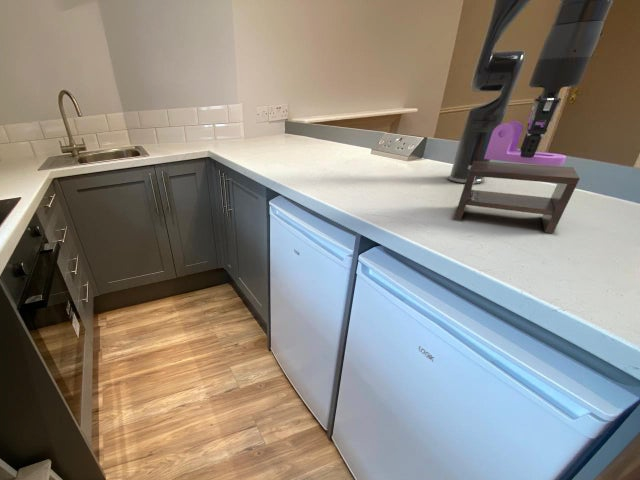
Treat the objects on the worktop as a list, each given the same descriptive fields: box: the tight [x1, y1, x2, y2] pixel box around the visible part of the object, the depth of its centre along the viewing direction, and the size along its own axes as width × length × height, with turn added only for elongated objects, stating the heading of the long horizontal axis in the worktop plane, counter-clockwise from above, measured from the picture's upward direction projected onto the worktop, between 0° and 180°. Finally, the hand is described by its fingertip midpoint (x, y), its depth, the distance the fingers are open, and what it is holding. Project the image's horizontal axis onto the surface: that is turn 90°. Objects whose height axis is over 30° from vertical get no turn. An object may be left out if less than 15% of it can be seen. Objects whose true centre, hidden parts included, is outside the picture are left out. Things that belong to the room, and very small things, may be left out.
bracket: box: [484, 120, 567, 166], centre depth 69 cm, size 13×6×7 cm, turn 38°
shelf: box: [453, 161, 580, 234], centre depth 75 cm, size 11×18×11 cm, turn 55°
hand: (526, 154), depth 70 cm, fingers closed on bracket, 6 cm apart
